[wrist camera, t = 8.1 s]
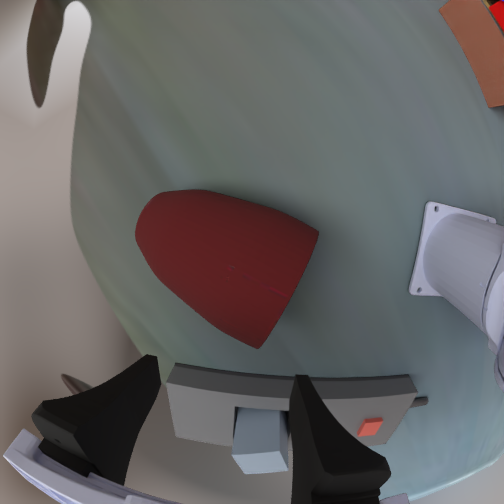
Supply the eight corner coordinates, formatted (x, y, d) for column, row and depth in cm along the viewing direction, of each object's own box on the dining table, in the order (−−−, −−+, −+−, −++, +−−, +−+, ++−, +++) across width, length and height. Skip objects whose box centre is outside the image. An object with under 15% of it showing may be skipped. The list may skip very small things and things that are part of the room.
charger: (279, 394, 24) (279, 451, 17) (287, 418, 25) (288, 471, 18) (239, 399, 24) (231, 454, 17) (251, 423, 25) (245, 475, 19)
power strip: (441, 370, 23) (454, 389, 19) (411, 421, 25) (419, 440, 22) (175, 362, 24) (164, 386, 21) (182, 418, 26) (174, 440, 23)
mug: (184, 240, 25) (280, 291, 24) (131, 305, 20) (240, 371, 19) (190, 142, 17) (330, 205, 16) (100, 212, 12) (285, 317, 11)
